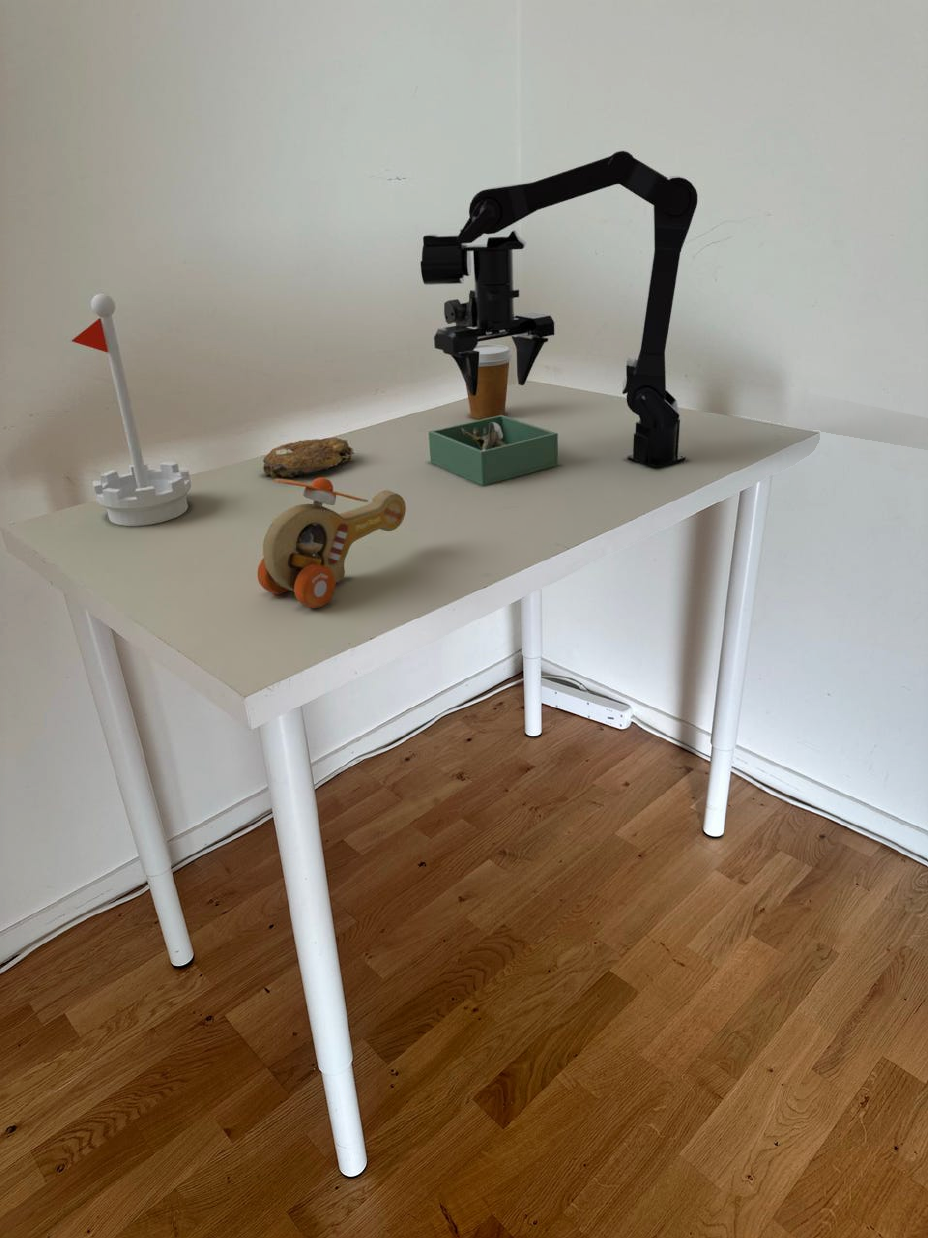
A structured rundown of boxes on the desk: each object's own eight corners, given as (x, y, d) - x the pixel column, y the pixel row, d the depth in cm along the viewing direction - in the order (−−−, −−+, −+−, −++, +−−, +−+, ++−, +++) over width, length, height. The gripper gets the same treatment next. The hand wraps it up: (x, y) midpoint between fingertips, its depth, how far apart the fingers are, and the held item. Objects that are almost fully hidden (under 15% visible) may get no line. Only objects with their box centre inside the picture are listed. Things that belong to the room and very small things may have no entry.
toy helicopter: (252, 600, 104) (232, 485, 97) (380, 541, 117) (370, 437, 111) (299, 619, 99) (281, 499, 92) (427, 555, 112) (420, 447, 106)
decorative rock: (329, 451, 155) (253, 476, 146) (324, 427, 153) (247, 452, 144) (369, 461, 147) (291, 488, 138) (365, 436, 145) (286, 462, 136)
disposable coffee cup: (514, 420, 165) (512, 353, 159) (461, 423, 165) (458, 355, 160) (512, 407, 173) (510, 342, 168) (462, 409, 174) (459, 345, 168)
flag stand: (167, 490, 140) (124, 283, 126) (212, 508, 131) (171, 290, 117) (86, 514, 132) (30, 297, 118) (127, 536, 123) (72, 304, 109)
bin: (502, 444, 152) (501, 414, 150) (557, 465, 141) (557, 433, 139) (430, 462, 146) (428, 431, 143) (482, 485, 134) (481, 452, 132)
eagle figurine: (452, 452, 144) (480, 456, 136) (468, 410, 143) (497, 411, 136) (490, 470, 148) (519, 475, 140) (505, 429, 147) (536, 431, 140)
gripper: (511, 271, 143) (514, 371, 150) (410, 285, 134) (418, 391, 142) (557, 276, 135) (557, 382, 142) (452, 292, 126) (458, 404, 133)
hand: (497, 389), depth 140 cm, fingers open, 9 cm apart
